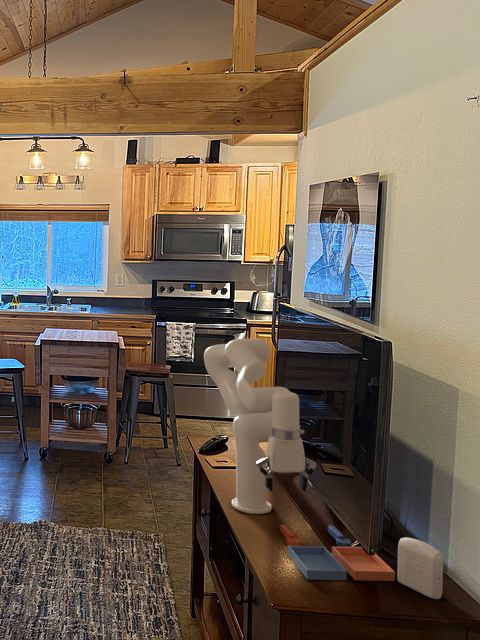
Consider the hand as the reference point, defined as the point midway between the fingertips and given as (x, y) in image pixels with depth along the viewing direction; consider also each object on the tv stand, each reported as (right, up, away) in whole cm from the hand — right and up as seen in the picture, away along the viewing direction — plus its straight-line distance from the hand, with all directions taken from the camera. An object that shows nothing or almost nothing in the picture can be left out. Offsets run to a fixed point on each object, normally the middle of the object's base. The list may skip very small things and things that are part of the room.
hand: (286, 490), depth 195 cm
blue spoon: (+14, -14, -3) cm, 20 cm away
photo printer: (+20, -15, -31) cm, 40 cm away
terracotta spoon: (0, -14, -1) cm, 14 cm away
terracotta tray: (+12, -15, -19) cm, 27 cm away
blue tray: (0, -15, -18) cm, 24 cm away
